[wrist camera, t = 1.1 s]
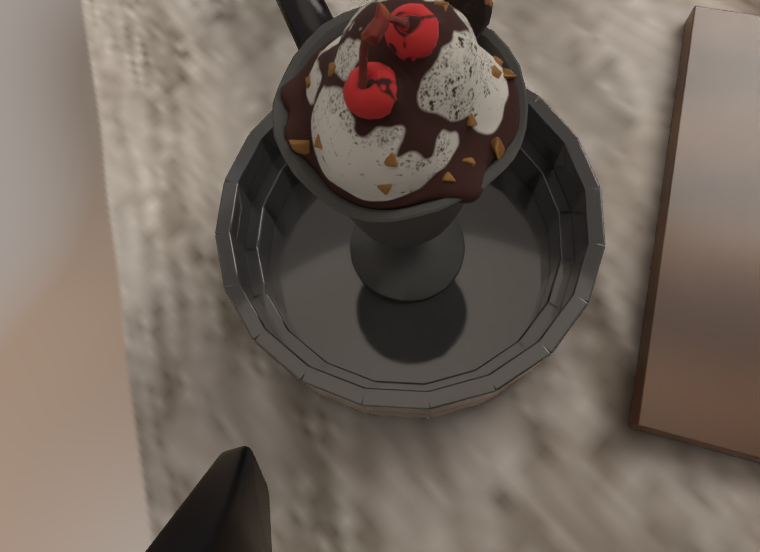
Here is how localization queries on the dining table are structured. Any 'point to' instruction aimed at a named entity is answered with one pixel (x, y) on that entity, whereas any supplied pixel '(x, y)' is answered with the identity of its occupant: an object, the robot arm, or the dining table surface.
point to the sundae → (402, 131)
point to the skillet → (422, 317)
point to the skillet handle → (304, 17)
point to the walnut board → (707, 249)
